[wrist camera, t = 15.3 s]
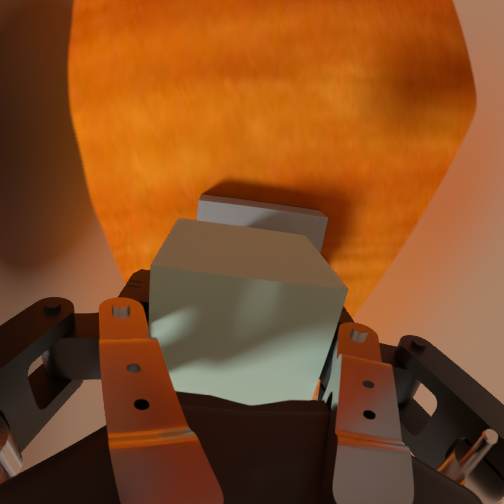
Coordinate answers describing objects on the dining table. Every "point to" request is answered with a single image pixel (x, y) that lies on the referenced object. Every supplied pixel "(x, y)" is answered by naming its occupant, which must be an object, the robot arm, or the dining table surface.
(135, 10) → the dining table surface
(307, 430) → the robot arm
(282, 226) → the slate plinth
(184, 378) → the sage block
